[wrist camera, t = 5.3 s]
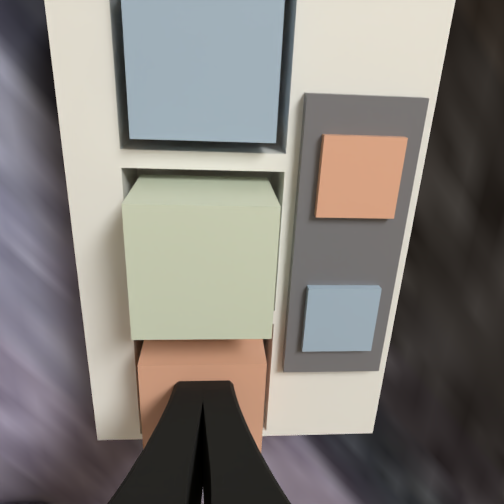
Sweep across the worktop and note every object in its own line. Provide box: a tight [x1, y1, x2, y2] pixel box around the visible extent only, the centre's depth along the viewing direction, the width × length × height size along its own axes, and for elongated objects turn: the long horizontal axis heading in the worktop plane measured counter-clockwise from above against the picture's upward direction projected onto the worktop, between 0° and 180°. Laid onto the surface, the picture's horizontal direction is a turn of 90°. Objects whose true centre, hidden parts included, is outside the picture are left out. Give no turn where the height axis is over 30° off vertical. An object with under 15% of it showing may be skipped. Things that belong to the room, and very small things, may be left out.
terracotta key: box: [137, 339, 267, 452], centre depth 12 cm, size 3×3×2 cm
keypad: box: [44, 0, 455, 440], centre depth 12 cm, size 8×12×4 cm, turn 178°
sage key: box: [121, 174, 281, 340], centre depth 10 cm, size 3×3×2 cm
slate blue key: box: [121, 0, 285, 143], centre depth 10 cm, size 3×3×2 cm
